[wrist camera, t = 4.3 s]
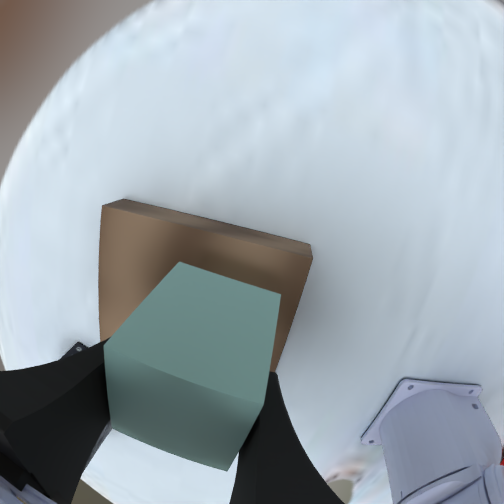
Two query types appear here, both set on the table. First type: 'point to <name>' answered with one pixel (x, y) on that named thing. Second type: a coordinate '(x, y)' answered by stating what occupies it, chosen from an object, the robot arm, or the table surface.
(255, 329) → the teal block
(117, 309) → the walnut slab
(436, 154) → the table surface
